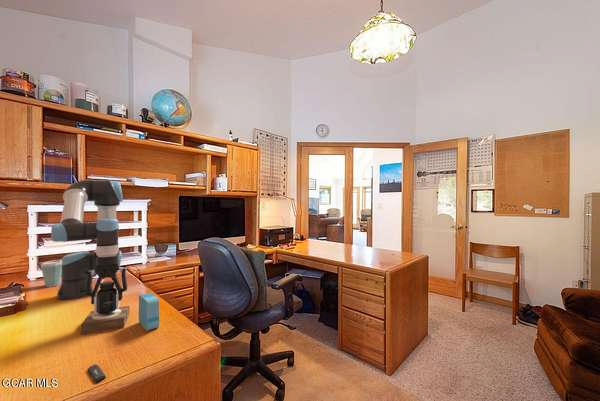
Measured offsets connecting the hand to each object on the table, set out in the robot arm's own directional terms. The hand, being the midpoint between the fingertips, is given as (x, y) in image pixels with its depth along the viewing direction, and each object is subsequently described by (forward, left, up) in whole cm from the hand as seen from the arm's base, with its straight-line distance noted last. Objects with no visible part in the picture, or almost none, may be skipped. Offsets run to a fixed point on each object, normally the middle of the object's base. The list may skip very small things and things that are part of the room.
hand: (107, 309), depth 110 cm
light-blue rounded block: (+9, +16, -6) cm, 19 cm away
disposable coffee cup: (-78, -43, -6) cm, 89 cm away
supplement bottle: (0, 0, -1) cm, 1 cm away
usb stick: (+39, +5, -7) cm, 39 cm away
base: (0, 0, -6) cm, 6 cm away
